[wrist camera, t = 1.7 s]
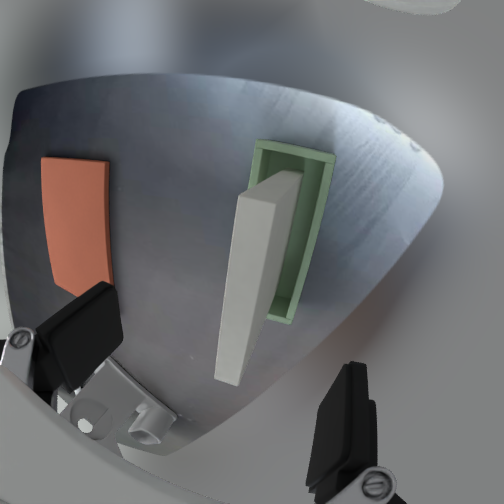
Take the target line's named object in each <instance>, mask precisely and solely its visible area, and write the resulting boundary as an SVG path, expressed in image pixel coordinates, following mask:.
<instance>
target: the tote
mask: <svg viewBox="0 0 504 504" xmlns="http://www.w3.org/2000/svg"><path fill="white" fill-rule="evenodd" d="M335 161H336V155H335V154H332V153H328V152H324V151H320V150H316V149H311V148H307V147H302V146H298V145H293V144H288V143H283V142H278V141H272V140H266V139H256V143H255V149H254V155H253V161H252V167H251V173H250V179H249V185H248V190H249V189H250V188H252V187H254V186H255V185H257V184H259V183H261V182H262V181H264V180H266V179H268V178H269V177H271V176H273V175H275V174H276V173H278V172H280V171H282V170H284V169H285V168H292V169H296V170H301V171H304V176H303V181H302V186H301V191H300V195H299V200H298V205H297V209H296V214H295V218H294V223H293V227H292V231H291V236H290V240H289V244H288V249H287V253H286V257H285V261H284V266H283V270H282V274H281V278H280V282H279V285H278V288H277V290H276V293H275V296H274V298H273V301H272V304H271V306H270V309H269V311H268V314H267V317H266V318H267V319H270V320H274V321H277V322H281V323H285V324H288V325H291V324H292V321H293V318H294V315H295V312H296V309H297V305H298V302H299V299H300V296H301V292H302V289H303V286H304V282H305V279H306V275H307V272H308V268H309V265H310V261H311V258H312V254H313V251H314V247H315V243H316V240H317V236H318V232H319V228H320V224H321V220H322V216H323V212H324V208H325V204H326V200H327V196H328V192H329V188H330V183H331V179H332V174H333V170H334V164H335Z"/></svg>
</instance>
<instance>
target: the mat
mask: <svg viewBox="0 0 504 504" xmlns="http://www.w3.org/2000/svg"><path fill="white" fill-rule="evenodd" d="M109 164H110V162H107V161H97V160H86V159H73V158H58V157H42V158H41V177H42V198H43V211H44V221H45V229H46V237H47V244H48V250H49V256H50V261H51V266H52V271H53V276H54V281H55V284H57V285H58V286H60V287H62V288H63V289H65V290H67V291H68V292H70V293H72V294H74V295H75V296H77V297H79V296H80V295H81V294H83V293H84V292H86V291H87V290H89V289H90V288H91V287H93V286H94V285H96V284H97V283H99V282H100V281H105V282H107V283H110V284H112V285H114V280H113V271H112V260H111V247H110V230H109Z"/></svg>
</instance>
